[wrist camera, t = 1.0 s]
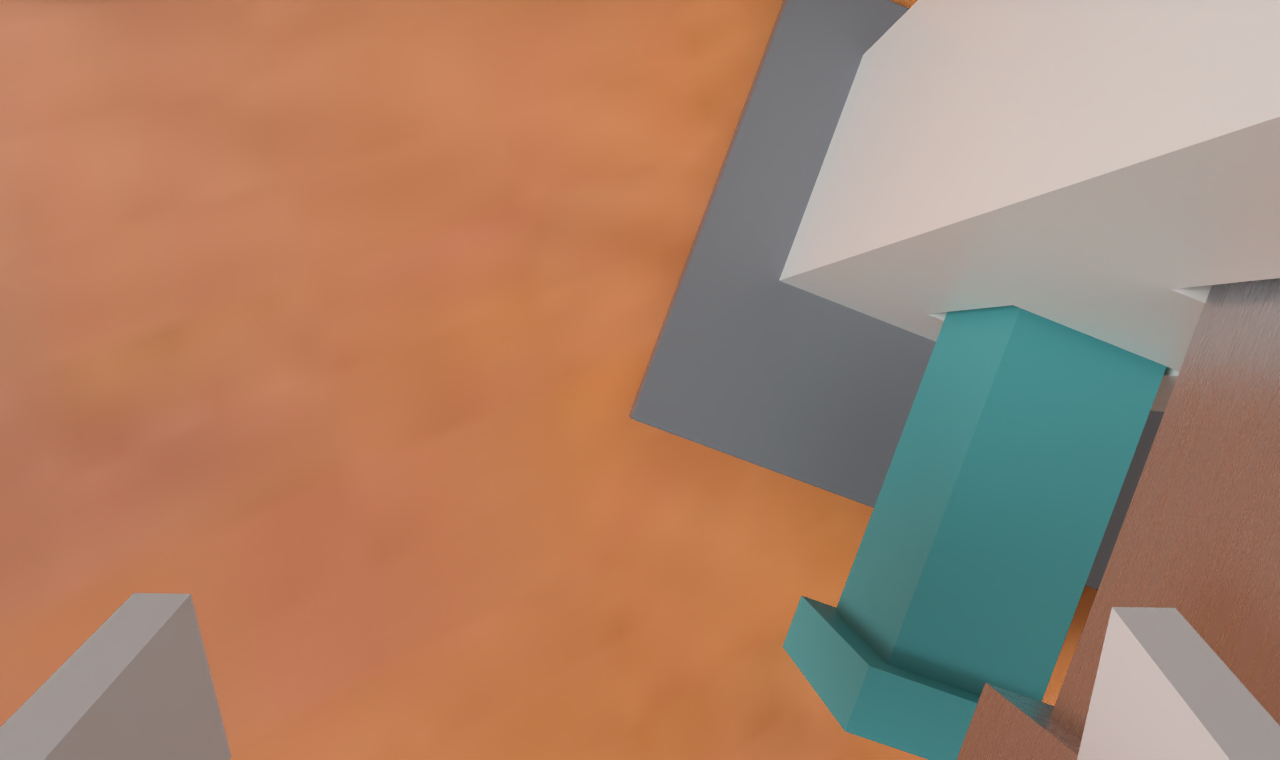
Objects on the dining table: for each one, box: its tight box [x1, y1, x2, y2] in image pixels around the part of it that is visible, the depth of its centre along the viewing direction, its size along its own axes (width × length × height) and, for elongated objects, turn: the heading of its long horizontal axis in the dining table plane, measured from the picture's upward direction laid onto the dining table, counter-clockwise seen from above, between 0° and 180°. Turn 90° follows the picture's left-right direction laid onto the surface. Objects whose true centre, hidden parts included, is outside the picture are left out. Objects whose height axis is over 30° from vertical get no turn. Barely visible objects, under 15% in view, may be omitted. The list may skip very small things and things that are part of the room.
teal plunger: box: [783, 305, 1167, 760], centre depth 23 cm, size 14×6×6 cm, turn 159°
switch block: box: [629, 0, 1280, 590], centre depth 19 cm, size 16×18×22 cm
